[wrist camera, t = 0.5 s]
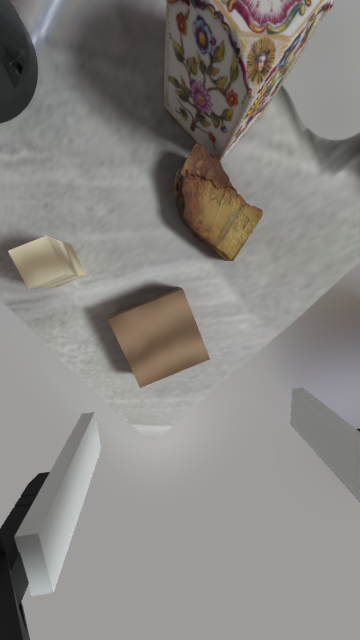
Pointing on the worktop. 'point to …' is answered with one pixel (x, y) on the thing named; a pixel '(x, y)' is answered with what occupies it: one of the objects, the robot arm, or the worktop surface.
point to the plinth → (159, 337)
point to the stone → (213, 204)
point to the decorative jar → (231, 61)
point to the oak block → (46, 263)
